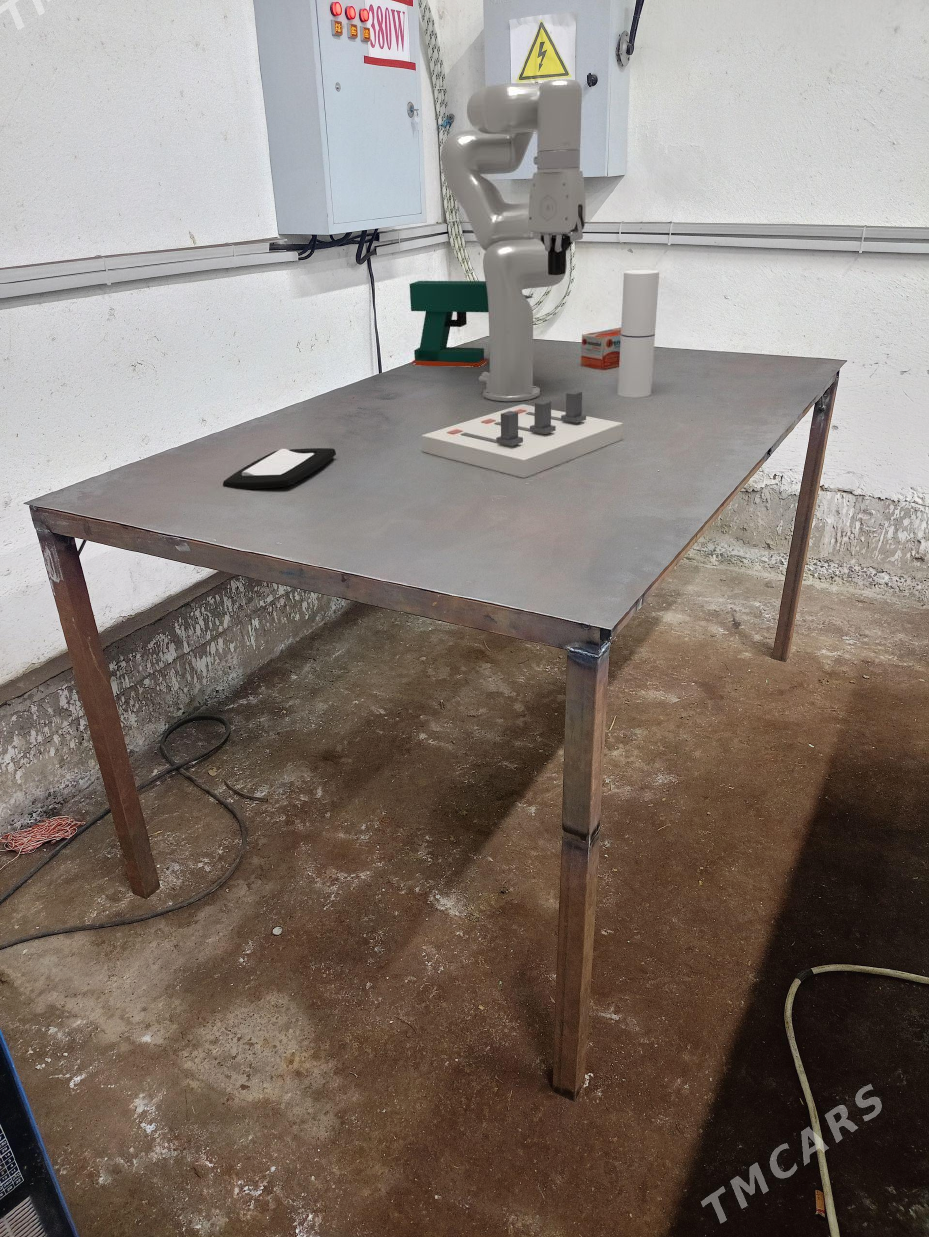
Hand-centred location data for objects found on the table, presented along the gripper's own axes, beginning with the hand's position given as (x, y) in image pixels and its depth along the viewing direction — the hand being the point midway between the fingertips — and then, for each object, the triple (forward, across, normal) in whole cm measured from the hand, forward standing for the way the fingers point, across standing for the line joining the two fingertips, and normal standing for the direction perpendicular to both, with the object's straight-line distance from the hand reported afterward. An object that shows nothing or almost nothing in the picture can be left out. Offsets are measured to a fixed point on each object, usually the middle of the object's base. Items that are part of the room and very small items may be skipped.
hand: (556, 274), depth 159 cm
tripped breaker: (+24, +12, -27) cm, 38 cm away
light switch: (+28, -16, -55) cm, 64 cm away
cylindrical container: (+27, +1, +27) cm, 38 cm away
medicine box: (+28, -22, +51) cm, 62 cm away
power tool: (+27, -50, +30) cm, 64 cm away
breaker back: (+24, +11, -9) cm, 28 cm away
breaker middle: (+24, +12, -18) cm, 32 cm away
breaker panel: (+27, +7, -18) cm, 33 cm away
